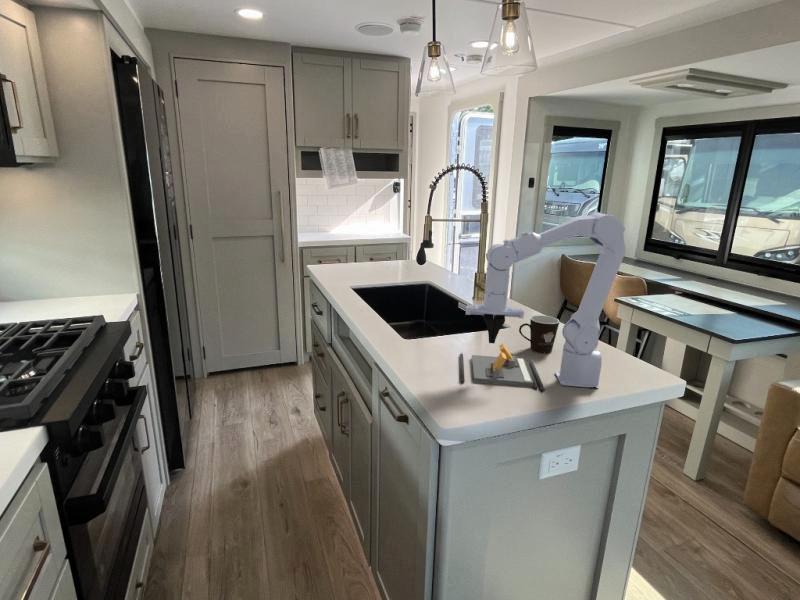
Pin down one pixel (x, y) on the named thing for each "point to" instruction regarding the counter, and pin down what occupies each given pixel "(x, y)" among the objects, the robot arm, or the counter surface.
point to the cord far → (462, 368)
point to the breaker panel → (501, 371)
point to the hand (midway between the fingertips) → (491, 342)
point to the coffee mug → (542, 333)
